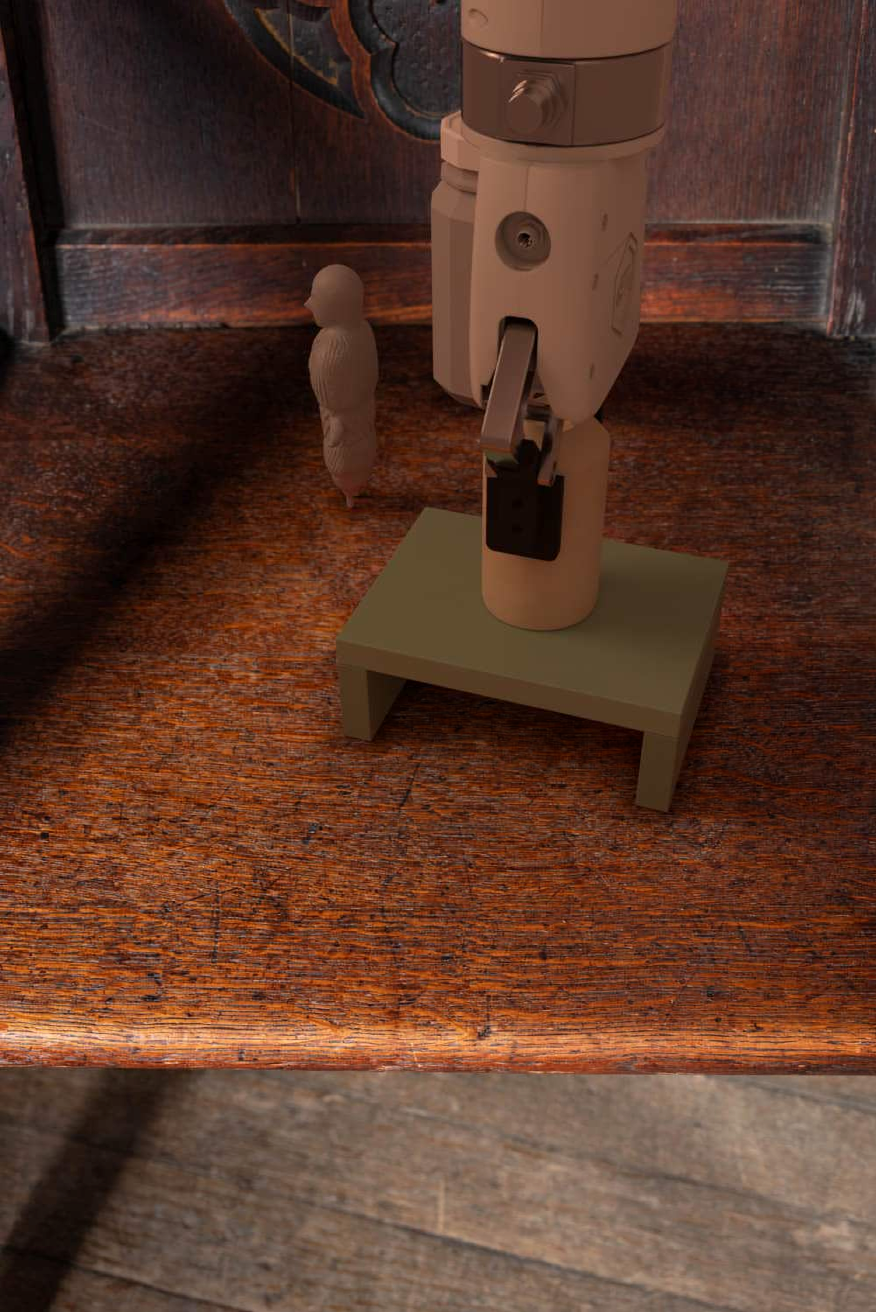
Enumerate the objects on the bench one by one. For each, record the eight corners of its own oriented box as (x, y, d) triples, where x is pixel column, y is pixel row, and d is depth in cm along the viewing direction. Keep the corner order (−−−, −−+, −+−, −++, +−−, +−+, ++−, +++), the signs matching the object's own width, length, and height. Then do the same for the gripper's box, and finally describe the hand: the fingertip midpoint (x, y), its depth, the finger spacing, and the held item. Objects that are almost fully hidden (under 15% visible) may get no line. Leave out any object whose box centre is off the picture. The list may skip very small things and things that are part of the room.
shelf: (714, 656, 66) (729, 561, 62) (667, 813, 57) (681, 713, 53) (427, 597, 70) (425, 505, 66) (342, 735, 61) (334, 638, 57)
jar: (586, 407, 87) (605, 138, 76) (449, 424, 86) (448, 152, 74) (545, 348, 95) (557, 95, 83) (418, 362, 93) (413, 106, 82)
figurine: (340, 460, 82) (323, 233, 73) (399, 466, 81) (390, 237, 72) (298, 539, 75) (274, 298, 65) (362, 546, 74) (347, 303, 65)
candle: (548, 648, 57) (559, 453, 50) (457, 600, 60) (456, 410, 53) (620, 594, 60) (639, 404, 54) (531, 551, 63) (538, 366, 57)
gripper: (608, 175, 38) (575, 641, 49) (710, 41, 51) (665, 437, 62) (379, 151, 40) (397, 605, 51) (532, 28, 53) (520, 414, 64)
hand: (544, 509), depth 57 cm, fingers open, 6 cm apart
